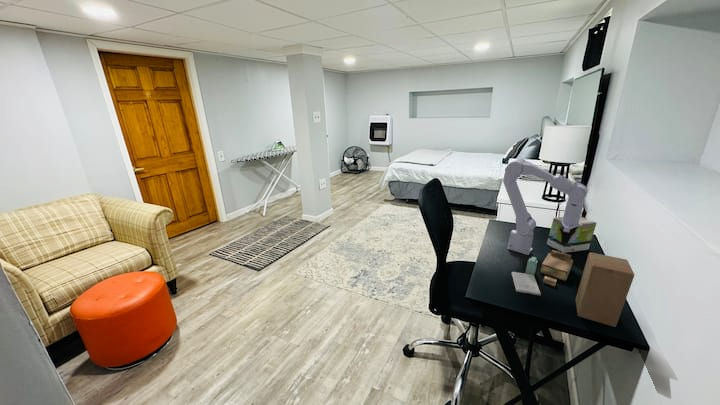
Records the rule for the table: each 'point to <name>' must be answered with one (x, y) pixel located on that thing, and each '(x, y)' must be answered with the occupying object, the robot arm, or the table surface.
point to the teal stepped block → (531, 266)
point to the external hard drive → (525, 283)
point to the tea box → (577, 240)
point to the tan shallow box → (553, 275)
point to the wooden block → (603, 288)
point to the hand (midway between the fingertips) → (565, 241)
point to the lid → (558, 261)
